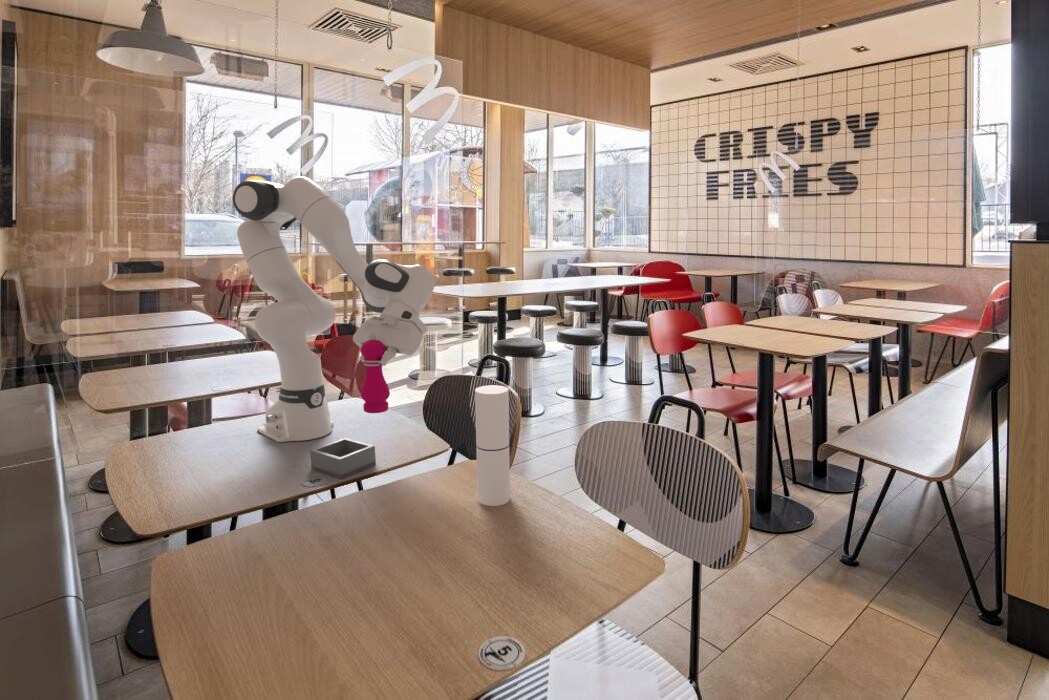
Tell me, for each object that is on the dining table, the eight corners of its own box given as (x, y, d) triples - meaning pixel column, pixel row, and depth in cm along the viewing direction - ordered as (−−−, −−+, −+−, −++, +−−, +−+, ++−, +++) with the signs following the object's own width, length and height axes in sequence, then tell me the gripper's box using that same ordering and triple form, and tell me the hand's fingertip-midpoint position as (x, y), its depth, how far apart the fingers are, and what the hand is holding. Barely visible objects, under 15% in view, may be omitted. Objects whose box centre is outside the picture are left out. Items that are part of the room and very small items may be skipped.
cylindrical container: (474, 504, 138) (471, 393, 133) (481, 491, 145) (479, 384, 140) (506, 507, 137) (504, 394, 132) (512, 493, 144) (511, 385, 138)
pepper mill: (394, 406, 168) (390, 331, 164) (385, 414, 161) (381, 336, 157) (367, 405, 168) (363, 330, 164) (357, 413, 161) (353, 336, 157)
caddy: (311, 469, 158) (310, 450, 157) (346, 455, 167) (345, 437, 166) (341, 479, 152) (340, 459, 151) (375, 464, 161) (374, 445, 160)
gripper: (363, 308, 171) (336, 350, 165) (420, 315, 160) (393, 360, 154) (376, 323, 175) (351, 364, 169) (432, 330, 164) (407, 374, 158)
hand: (371, 362), depth 161 cm, fingers closed on pepper mill, 5 cm apart
